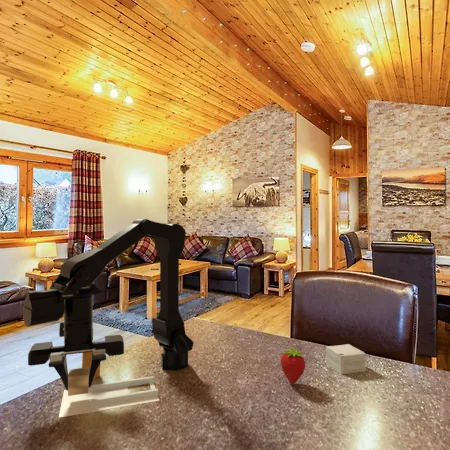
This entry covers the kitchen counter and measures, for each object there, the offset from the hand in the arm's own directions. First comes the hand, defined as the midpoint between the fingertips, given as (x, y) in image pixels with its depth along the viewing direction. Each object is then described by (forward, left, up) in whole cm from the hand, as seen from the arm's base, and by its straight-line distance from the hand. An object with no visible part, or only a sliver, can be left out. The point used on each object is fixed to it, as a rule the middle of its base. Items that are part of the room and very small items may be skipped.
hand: (78, 388), depth 77 cm
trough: (-6, 0, -4) cm, 8 cm away
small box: (-69, +2, -4) cm, 69 cm away
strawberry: (-49, +6, -4) cm, 50 cm away
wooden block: (0, 0, 0) cm, 0 cm away
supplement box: (-2, -11, -4) cm, 12 cm away
